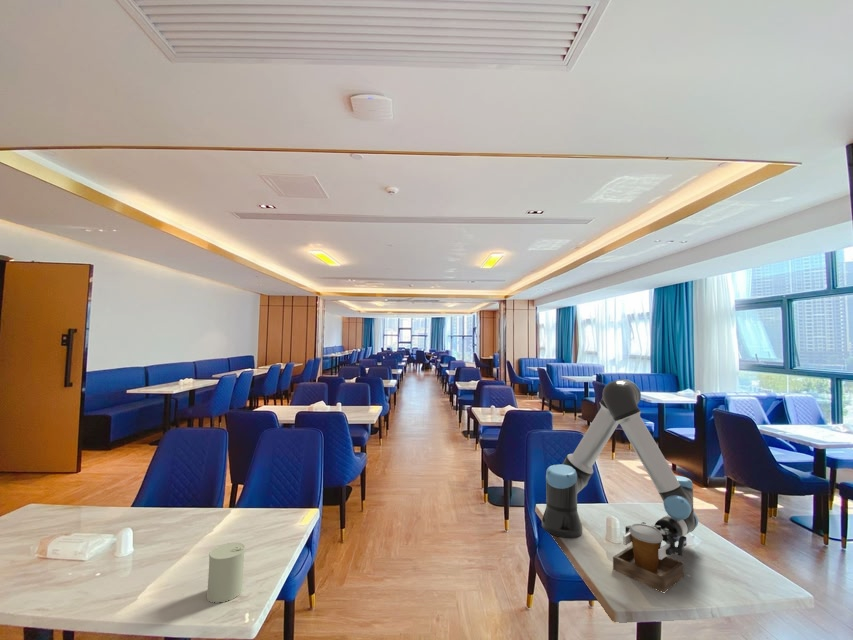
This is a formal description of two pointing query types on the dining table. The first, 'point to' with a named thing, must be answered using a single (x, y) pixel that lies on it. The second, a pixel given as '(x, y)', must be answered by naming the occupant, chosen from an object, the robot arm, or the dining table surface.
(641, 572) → the cup tray
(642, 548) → the disposable coffee cup
